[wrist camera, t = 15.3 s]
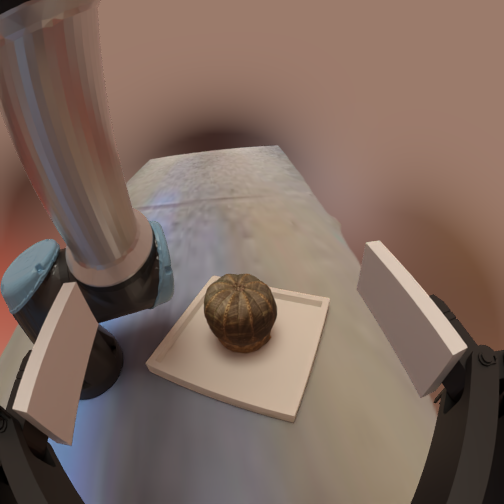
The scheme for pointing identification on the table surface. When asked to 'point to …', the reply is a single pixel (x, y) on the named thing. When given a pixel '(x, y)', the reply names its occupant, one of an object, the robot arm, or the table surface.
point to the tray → (246, 356)
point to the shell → (240, 312)
